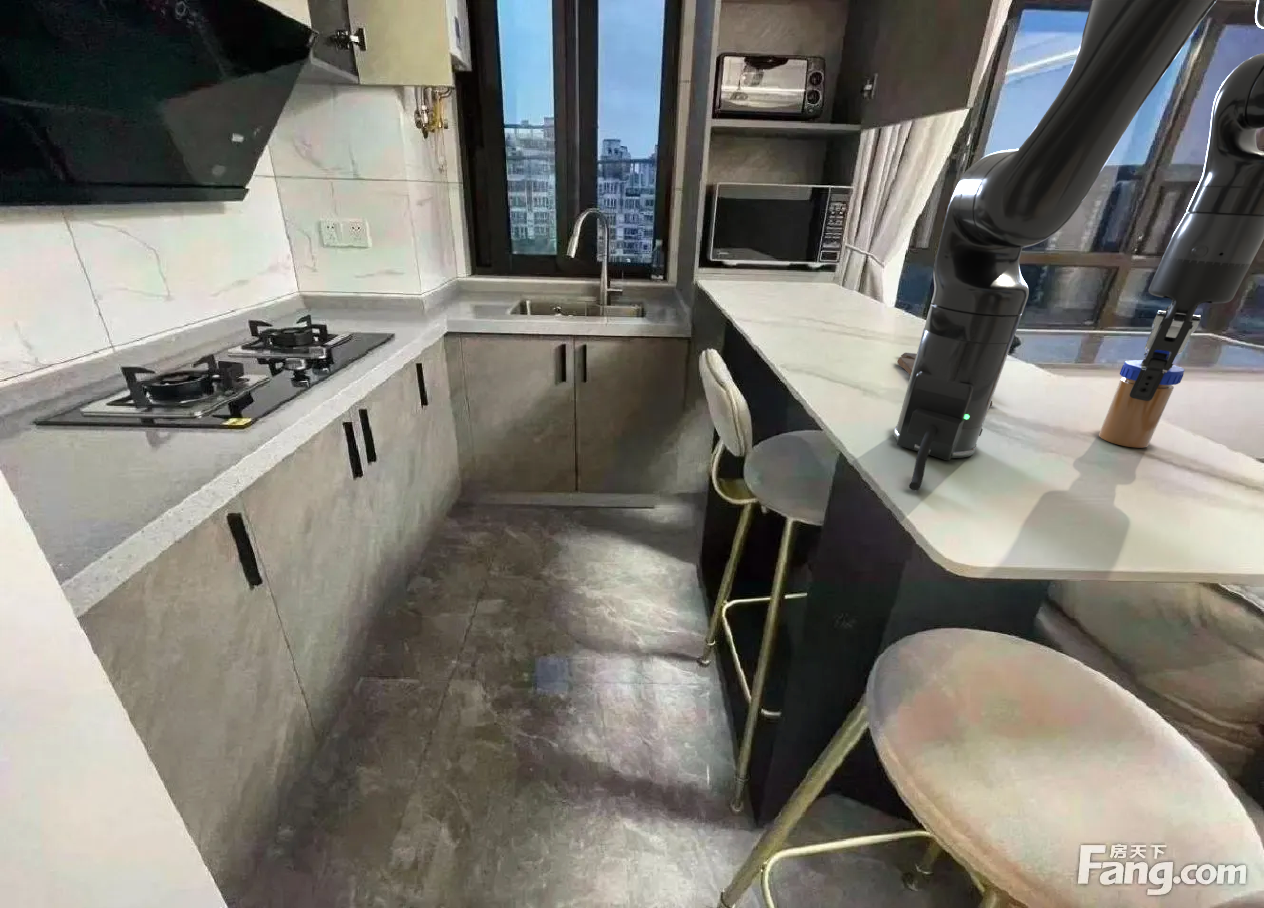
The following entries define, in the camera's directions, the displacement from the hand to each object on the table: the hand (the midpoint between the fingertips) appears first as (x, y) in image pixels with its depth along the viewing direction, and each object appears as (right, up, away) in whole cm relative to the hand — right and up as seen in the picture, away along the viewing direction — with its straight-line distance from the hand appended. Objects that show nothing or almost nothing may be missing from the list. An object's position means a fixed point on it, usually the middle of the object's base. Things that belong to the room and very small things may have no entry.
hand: (1141, 393), depth 70 cm
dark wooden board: (-13, +5, +24) cm, 28 cm away
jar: (0, -6, +3) cm, 7 cm away
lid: (0, +3, -1) cm, 3 cm away
